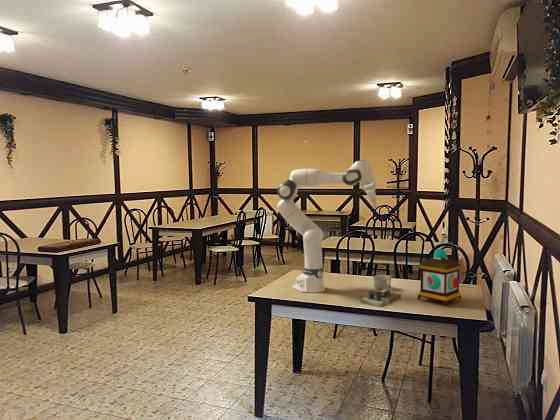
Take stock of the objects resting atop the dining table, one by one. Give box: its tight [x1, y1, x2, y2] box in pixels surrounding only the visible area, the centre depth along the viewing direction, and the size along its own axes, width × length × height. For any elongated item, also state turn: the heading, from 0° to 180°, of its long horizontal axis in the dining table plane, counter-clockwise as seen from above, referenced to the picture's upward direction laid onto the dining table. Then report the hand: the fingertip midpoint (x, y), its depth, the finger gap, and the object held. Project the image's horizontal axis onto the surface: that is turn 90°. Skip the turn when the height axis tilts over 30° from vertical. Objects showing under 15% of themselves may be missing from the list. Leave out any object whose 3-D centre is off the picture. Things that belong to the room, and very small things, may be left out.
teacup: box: [372, 274, 388, 291], centre depth 270 cm, size 14×11×8 cm
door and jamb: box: [359, 289, 402, 308], centre depth 244 cm, size 24×12×6 cm, turn 137°
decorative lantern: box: [417, 247, 462, 308], centre depth 241 cm, size 20×20×30 cm
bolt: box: [380, 274, 393, 295], centre depth 247 cm, size 10×3×10 cm, turn 137°
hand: (376, 207), depth 256 cm, fingers open, 8 cm apart
